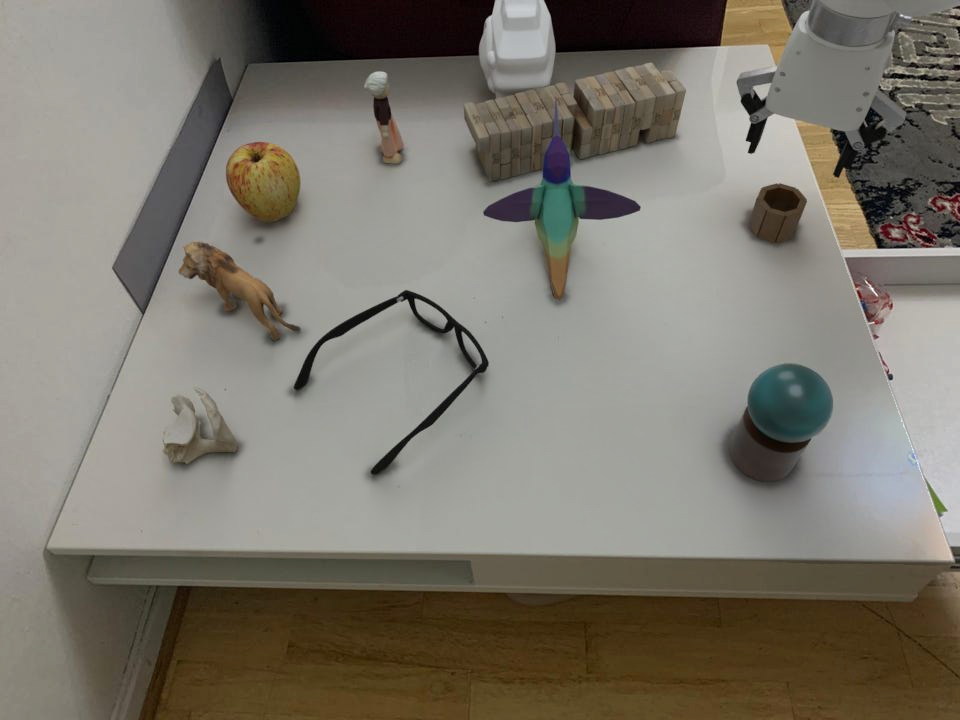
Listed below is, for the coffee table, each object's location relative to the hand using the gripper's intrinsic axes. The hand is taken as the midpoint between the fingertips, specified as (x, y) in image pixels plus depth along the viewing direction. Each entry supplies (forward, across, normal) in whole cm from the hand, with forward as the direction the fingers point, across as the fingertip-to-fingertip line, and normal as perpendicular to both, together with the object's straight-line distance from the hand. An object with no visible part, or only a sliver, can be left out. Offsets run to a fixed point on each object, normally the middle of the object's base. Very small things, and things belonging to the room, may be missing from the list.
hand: (795, 158), depth 84 cm
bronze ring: (+10, 0, 0) cm, 11 cm away
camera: (+11, +41, -11) cm, 44 cm away
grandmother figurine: (+11, +52, +8) cm, 54 cm away
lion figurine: (+11, +52, +41) cm, 67 cm away
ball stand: (+10, -8, +33) cm, 35 cm away
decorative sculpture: (+11, +23, +15) cm, 30 cm away
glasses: (+11, +30, +42) cm, 53 cm away
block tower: (+11, +29, -4) cm, 31 cm away
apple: (+11, +60, +25) cm, 66 cm away
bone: (+11, +45, +58) cm, 74 cm away
